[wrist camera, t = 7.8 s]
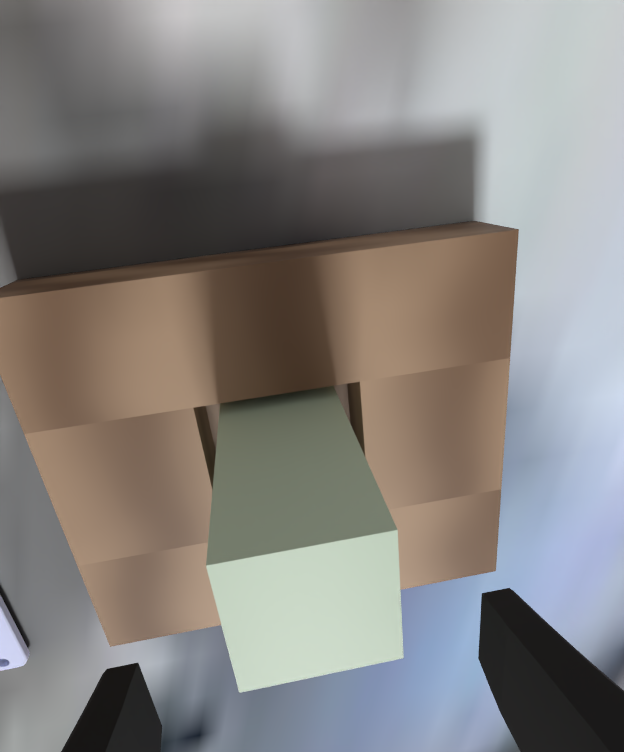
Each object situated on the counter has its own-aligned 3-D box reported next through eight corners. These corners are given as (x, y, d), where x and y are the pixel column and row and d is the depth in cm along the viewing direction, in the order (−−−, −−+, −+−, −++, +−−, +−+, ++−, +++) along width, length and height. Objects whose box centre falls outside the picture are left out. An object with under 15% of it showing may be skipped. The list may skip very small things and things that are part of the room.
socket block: (126, 586, 21) (110, 646, 19) (17, 280, 16) (-30, 301, 13) (464, 523, 23) (495, 571, 20) (474, 221, 17) (518, 229, 14)
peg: (239, 473, 19) (239, 692, 11) (221, 385, 18) (205, 565, 10) (335, 457, 20) (403, 657, 12) (326, 369, 18) (397, 529, 10)
